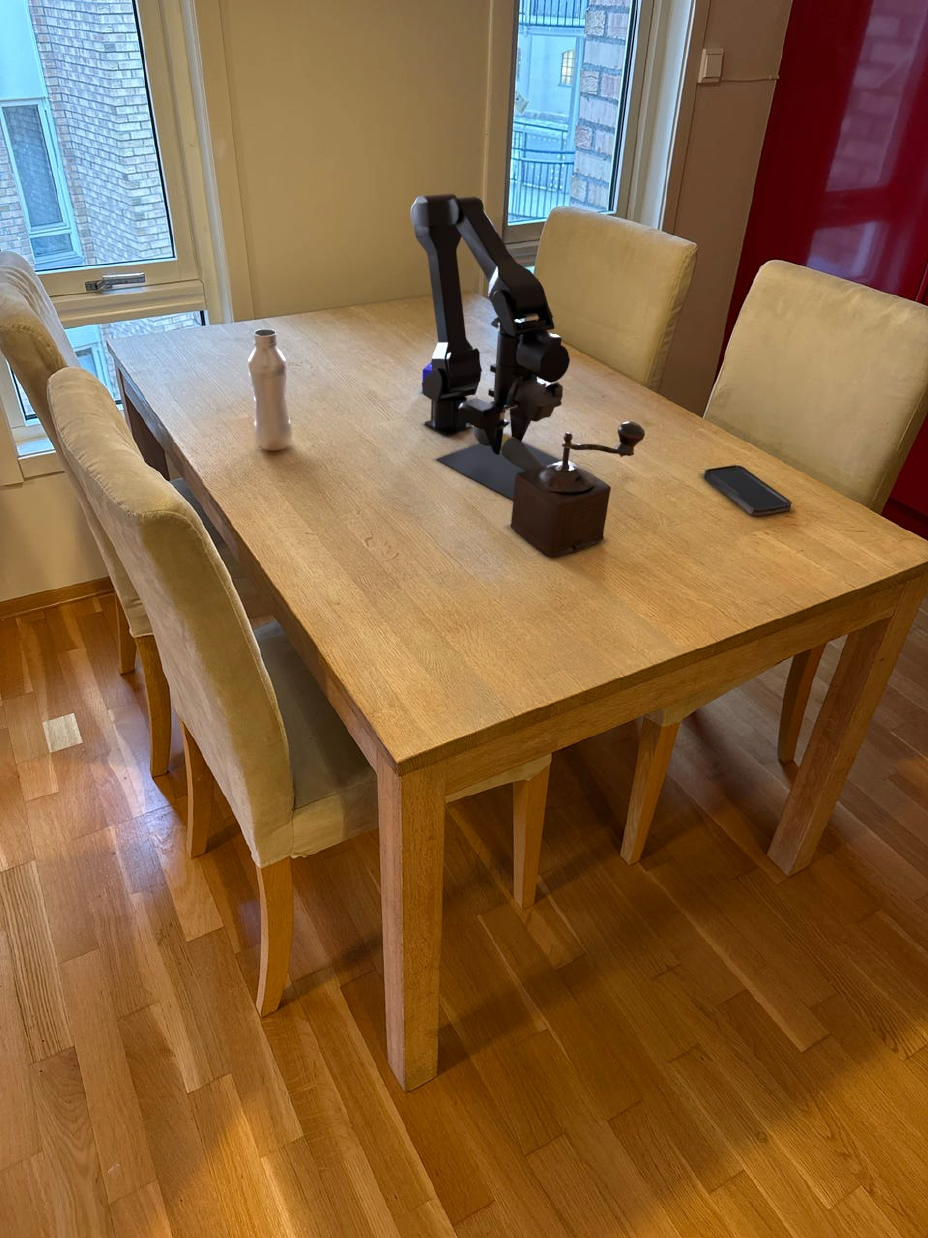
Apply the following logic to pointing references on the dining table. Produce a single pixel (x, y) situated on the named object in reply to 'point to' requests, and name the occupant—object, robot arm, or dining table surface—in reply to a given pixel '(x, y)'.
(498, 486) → the mat
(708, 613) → the dining table surface
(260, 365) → the plastic bottle
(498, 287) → the robot arm
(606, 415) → the dining table surface
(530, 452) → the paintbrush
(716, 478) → the phone
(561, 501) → the manual coffee grinder
